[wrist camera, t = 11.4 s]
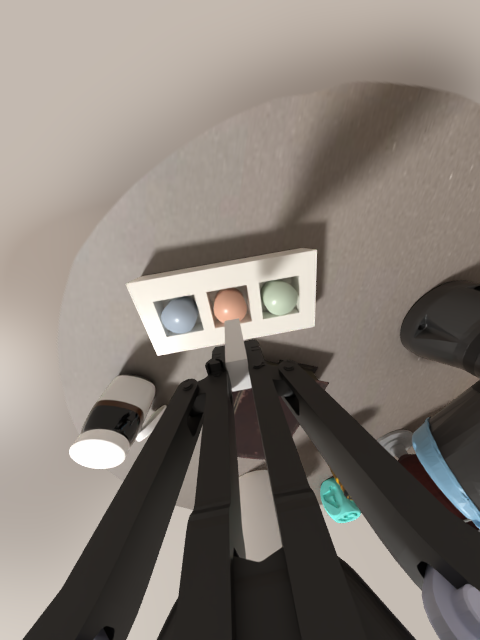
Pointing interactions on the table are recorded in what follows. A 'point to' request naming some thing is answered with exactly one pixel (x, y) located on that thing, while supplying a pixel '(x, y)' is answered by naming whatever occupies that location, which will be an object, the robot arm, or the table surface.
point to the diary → (248, 421)
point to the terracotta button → (229, 305)
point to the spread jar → (116, 422)
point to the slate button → (180, 314)
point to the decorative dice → (338, 502)
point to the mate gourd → (417, 468)
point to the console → (211, 278)
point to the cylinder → (258, 516)
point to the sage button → (278, 296)
